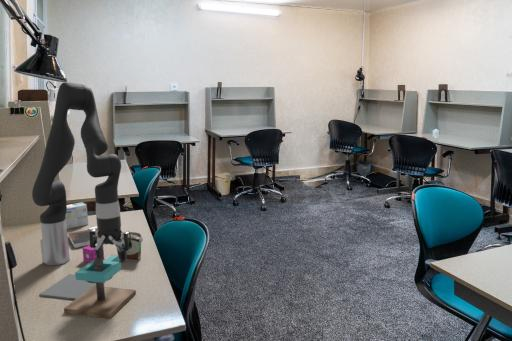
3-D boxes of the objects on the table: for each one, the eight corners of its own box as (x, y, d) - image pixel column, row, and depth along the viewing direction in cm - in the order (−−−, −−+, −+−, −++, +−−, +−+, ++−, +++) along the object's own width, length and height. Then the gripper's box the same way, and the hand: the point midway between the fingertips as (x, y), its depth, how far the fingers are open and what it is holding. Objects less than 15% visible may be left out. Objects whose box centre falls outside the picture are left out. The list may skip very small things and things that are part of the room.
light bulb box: (84, 221, 224) (82, 201, 222) (88, 224, 219) (87, 204, 217) (63, 225, 218) (61, 205, 216) (67, 229, 213) (65, 208, 211)
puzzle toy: (95, 256, 178) (94, 243, 177) (104, 259, 176) (103, 246, 175) (83, 261, 174) (82, 248, 173) (92, 264, 171) (91, 250, 170)
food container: (149, 255, 179) (148, 233, 177) (142, 261, 173) (140, 238, 171) (123, 253, 182) (122, 230, 180) (115, 258, 176) (113, 235, 174)
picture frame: (74, 248, 187) (124, 239, 198) (74, 243, 187) (124, 234, 198) (68, 237, 201) (115, 229, 212) (67, 232, 200) (114, 224, 212)
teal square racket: (75, 279, 134) (75, 272, 134) (102, 260, 149) (102, 254, 148) (104, 282, 132) (103, 275, 132) (128, 263, 147) (128, 256, 146)
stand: (64, 312, 134) (59, 266, 131) (93, 289, 149) (90, 247, 146) (110, 318, 131) (106, 271, 128) (135, 293, 146) (133, 251, 143)
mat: (39, 295, 145) (39, 294, 145) (69, 275, 160) (69, 274, 160) (78, 300, 142) (78, 298, 142) (105, 279, 157) (105, 277, 157)
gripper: (82, 216, 140) (86, 263, 143) (121, 218, 137) (125, 266, 140) (95, 210, 147) (99, 254, 150) (133, 212, 144) (136, 257, 147)
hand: (112, 260), depth 145 cm, fingers open, 8 cm apart
